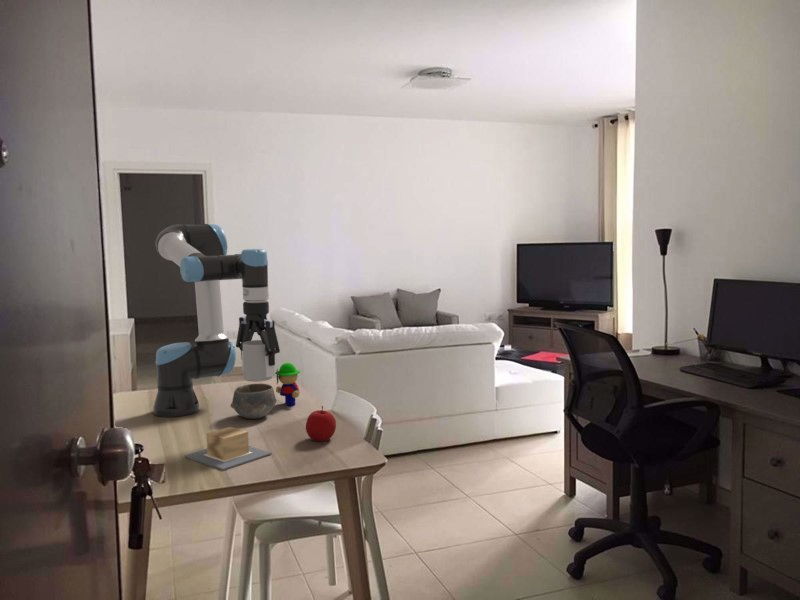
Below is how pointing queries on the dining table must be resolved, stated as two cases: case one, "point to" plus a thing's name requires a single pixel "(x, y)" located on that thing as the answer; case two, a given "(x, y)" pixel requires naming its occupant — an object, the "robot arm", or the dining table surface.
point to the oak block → (227, 443)
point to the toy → (288, 383)
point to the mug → (254, 361)
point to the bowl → (253, 400)
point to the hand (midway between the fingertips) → (258, 373)
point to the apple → (320, 425)
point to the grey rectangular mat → (230, 463)
